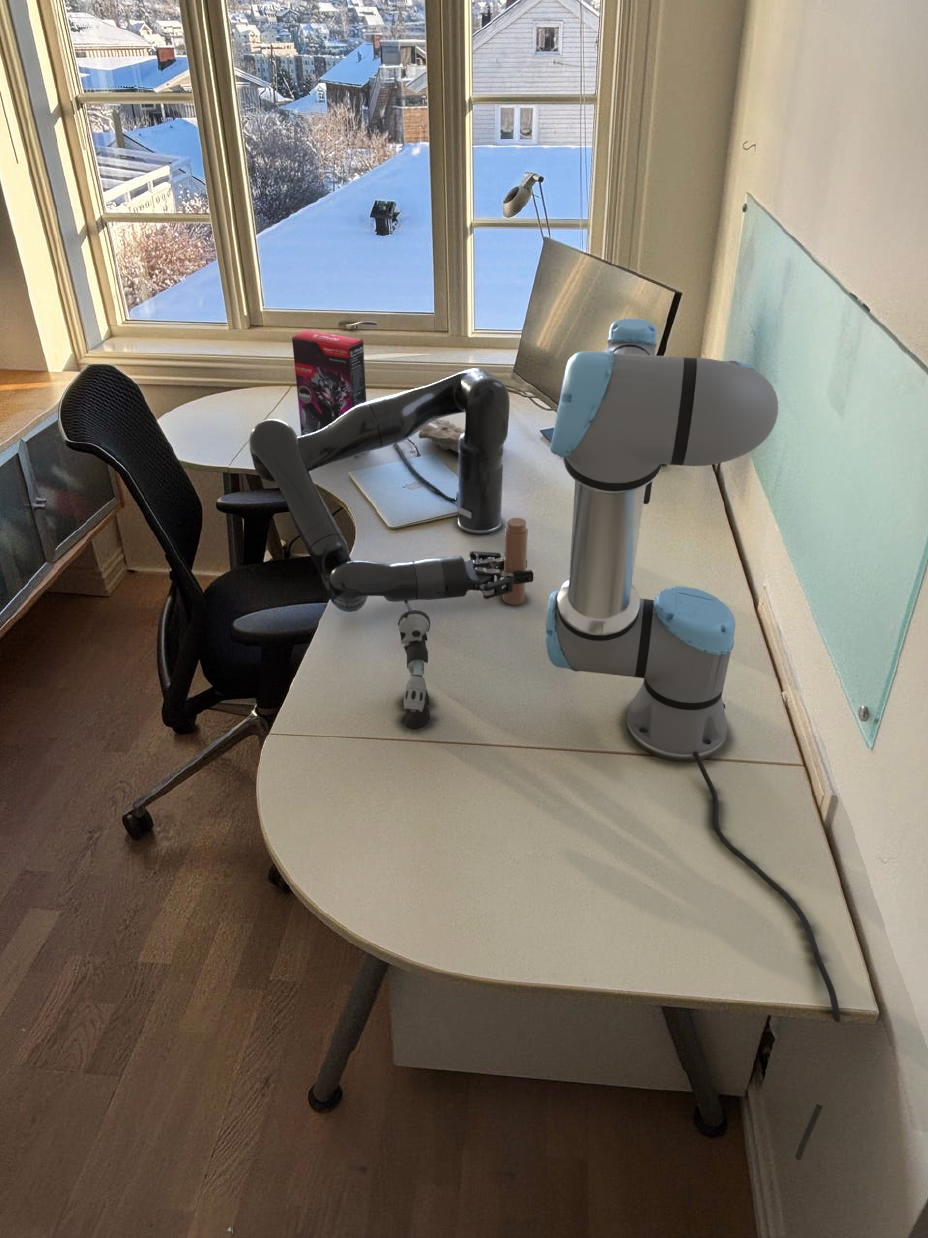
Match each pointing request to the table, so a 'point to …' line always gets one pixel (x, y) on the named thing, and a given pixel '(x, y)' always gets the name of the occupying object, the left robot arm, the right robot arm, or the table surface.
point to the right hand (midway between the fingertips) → (610, 539)
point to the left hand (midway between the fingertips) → (529, 569)
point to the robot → (415, 666)
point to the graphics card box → (327, 377)
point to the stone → (442, 434)
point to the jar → (515, 557)
